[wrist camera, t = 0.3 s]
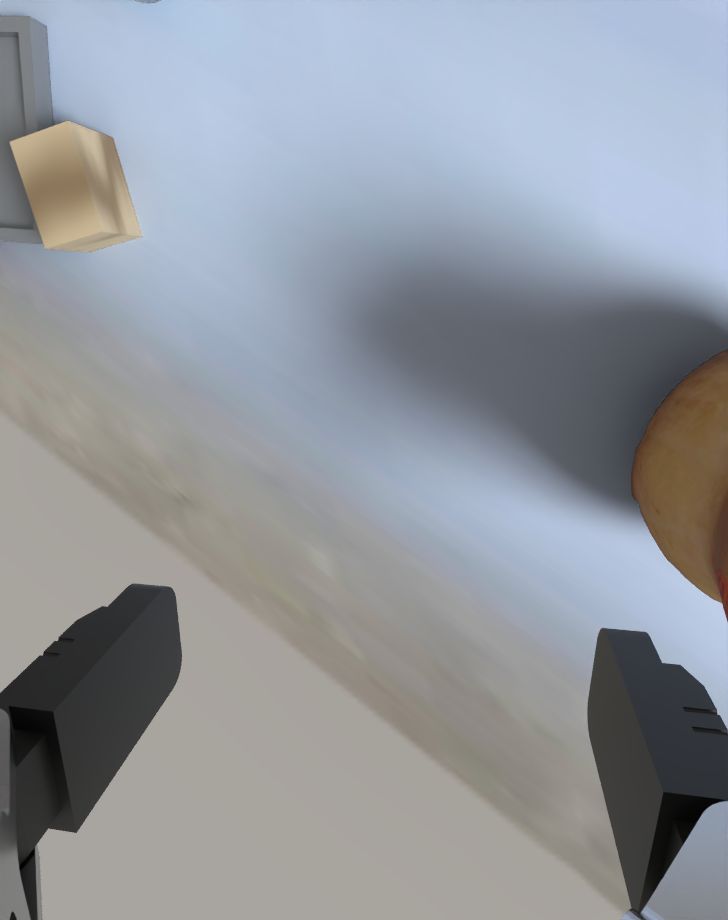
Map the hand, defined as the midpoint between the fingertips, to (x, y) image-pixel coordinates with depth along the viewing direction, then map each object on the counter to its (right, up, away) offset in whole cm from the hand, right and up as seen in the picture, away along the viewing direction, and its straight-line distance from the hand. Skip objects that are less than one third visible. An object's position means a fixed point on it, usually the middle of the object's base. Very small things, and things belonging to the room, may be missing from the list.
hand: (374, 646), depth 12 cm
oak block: (-17, +20, +28) cm, 39 cm away
